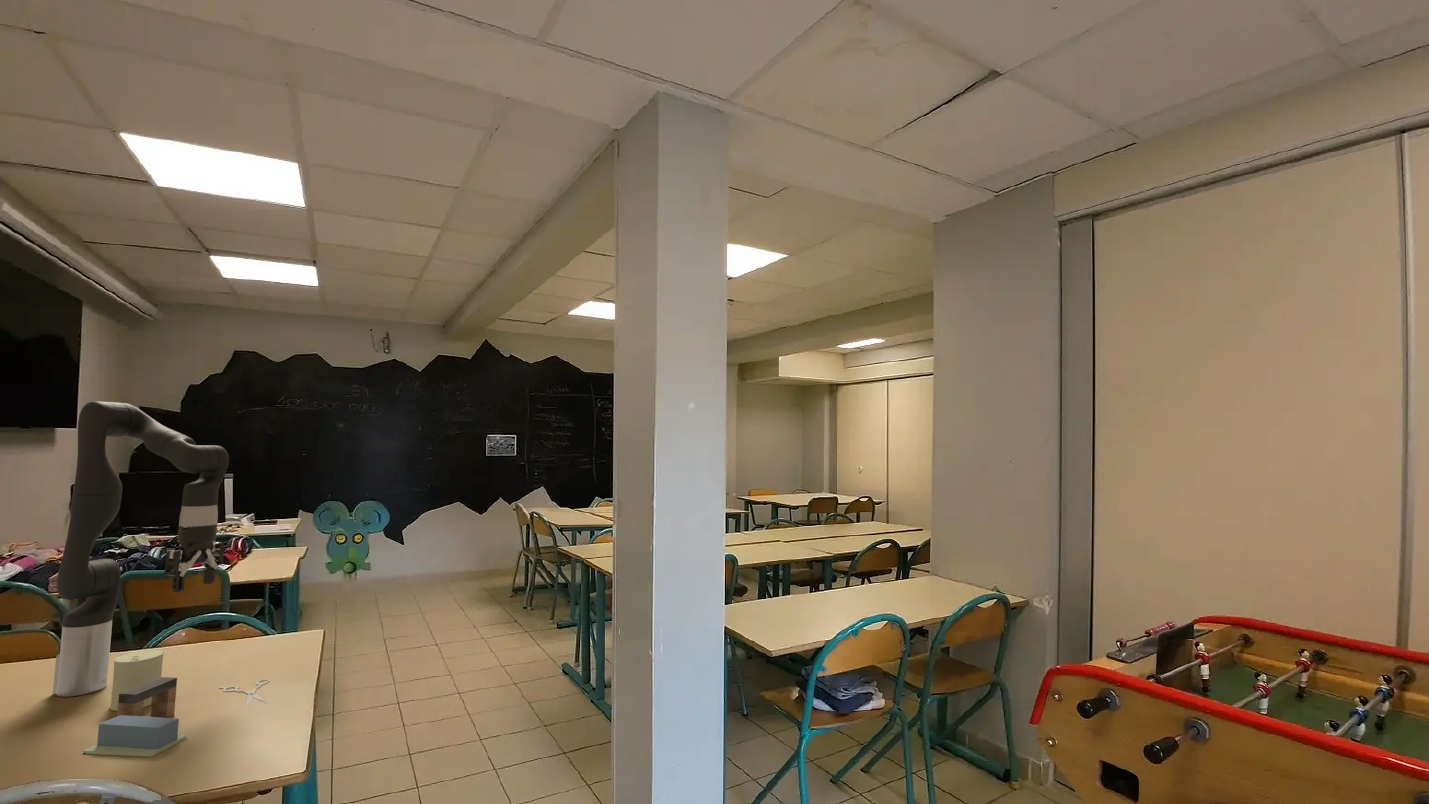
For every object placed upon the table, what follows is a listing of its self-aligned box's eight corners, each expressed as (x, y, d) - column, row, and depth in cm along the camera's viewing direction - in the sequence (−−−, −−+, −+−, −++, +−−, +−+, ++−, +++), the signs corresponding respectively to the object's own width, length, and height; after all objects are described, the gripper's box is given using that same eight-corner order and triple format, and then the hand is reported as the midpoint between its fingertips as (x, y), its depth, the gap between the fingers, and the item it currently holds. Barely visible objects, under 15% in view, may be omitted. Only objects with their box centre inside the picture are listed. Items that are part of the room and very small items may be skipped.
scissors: (267, 676, 170) (283, 698, 156) (267, 679, 170) (282, 701, 156) (218, 687, 163) (230, 710, 149) (218, 690, 162) (230, 713, 148)
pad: (82, 753, 128) (83, 750, 128) (121, 735, 136) (122, 732, 136) (151, 756, 127) (151, 753, 127) (186, 738, 135) (186, 735, 135)
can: (102, 714, 146) (107, 662, 147) (118, 699, 154) (122, 650, 155) (153, 707, 151) (157, 656, 151) (165, 693, 159) (169, 645, 160)
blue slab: (97, 745, 130) (98, 724, 131) (118, 735, 135) (120, 715, 135) (157, 749, 129) (159, 727, 129) (177, 739, 133) (178, 718, 134)
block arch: (115, 733, 137) (118, 693, 138) (158, 713, 147) (161, 677, 148) (132, 733, 137) (135, 694, 137) (174, 714, 147) (177, 677, 147)
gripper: (208, 519, 164) (204, 581, 163) (158, 526, 150) (152, 594, 149) (235, 520, 164) (231, 581, 163) (187, 527, 150) (182, 594, 149)
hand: (193, 587), depth 156 cm, fingers open, 8 cm apart
